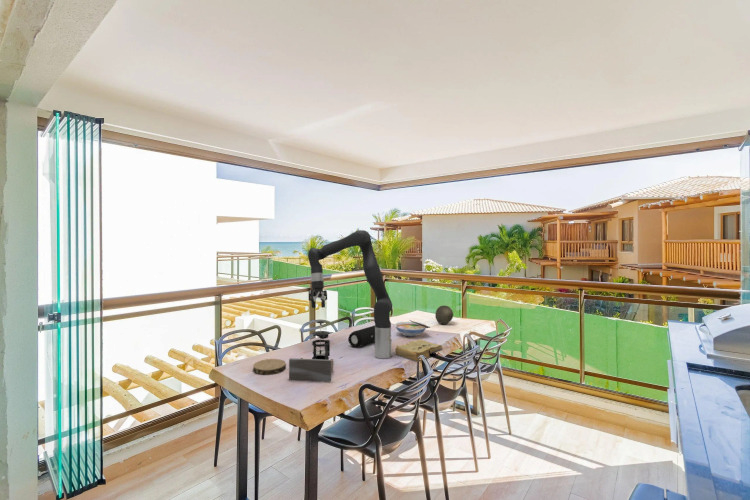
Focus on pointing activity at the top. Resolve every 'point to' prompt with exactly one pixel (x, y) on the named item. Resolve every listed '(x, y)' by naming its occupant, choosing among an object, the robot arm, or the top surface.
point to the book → (417, 350)
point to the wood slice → (269, 366)
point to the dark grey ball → (444, 314)
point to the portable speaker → (362, 336)
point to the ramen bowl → (411, 328)
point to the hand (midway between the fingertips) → (318, 307)
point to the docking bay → (310, 369)
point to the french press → (322, 335)
